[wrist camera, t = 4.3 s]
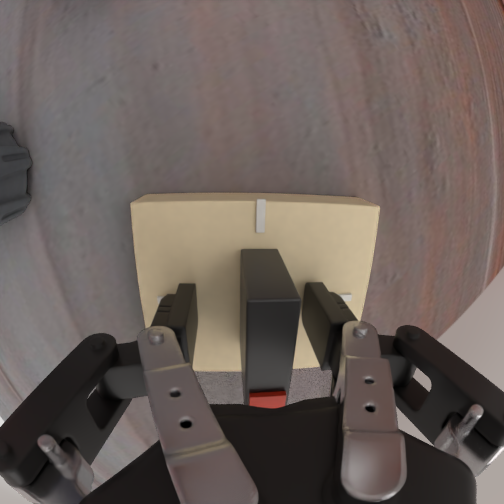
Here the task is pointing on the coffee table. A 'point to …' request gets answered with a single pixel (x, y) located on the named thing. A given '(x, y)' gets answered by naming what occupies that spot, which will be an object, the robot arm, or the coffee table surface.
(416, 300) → the coffee table surface
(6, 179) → the flashlight
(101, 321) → the coffee table surface
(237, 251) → the timer panel
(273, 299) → the timer knob
